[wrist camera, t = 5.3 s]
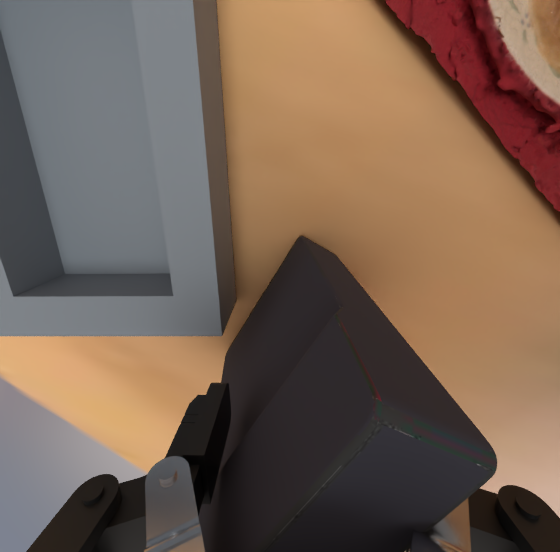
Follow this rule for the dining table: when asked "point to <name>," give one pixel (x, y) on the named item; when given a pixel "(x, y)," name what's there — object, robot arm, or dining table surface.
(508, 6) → the plate with food
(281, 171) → the dining table surface
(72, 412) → the dining table surface
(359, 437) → the dark bevelled slab
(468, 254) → the dining table surface
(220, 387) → the robot arm
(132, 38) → the tray
